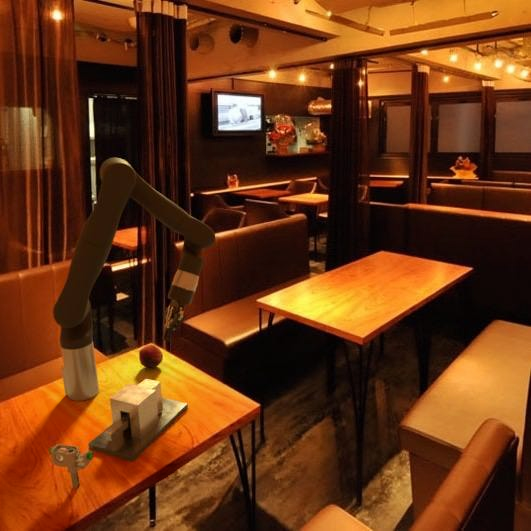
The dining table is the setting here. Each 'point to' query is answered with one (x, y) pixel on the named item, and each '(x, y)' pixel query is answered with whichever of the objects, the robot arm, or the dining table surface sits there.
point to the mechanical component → (71, 460)
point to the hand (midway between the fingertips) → (165, 340)
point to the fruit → (150, 356)
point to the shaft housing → (137, 422)
